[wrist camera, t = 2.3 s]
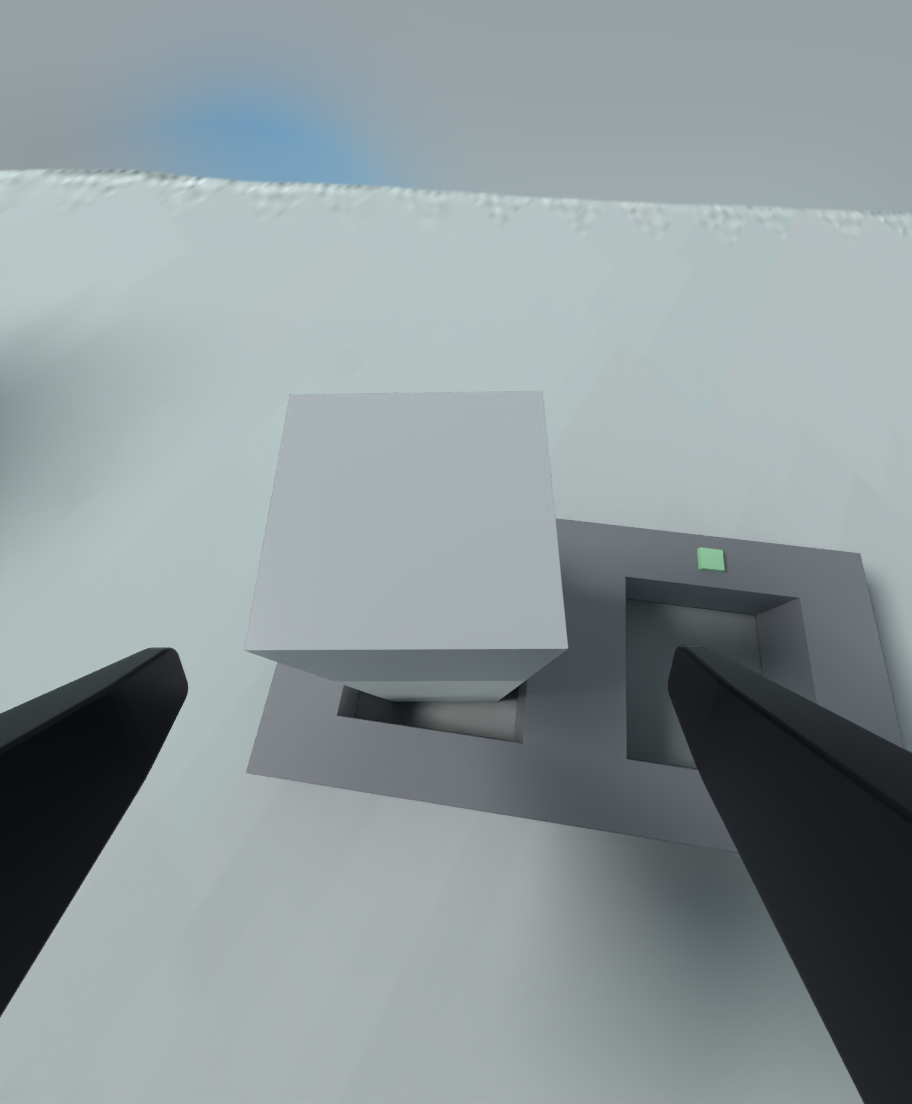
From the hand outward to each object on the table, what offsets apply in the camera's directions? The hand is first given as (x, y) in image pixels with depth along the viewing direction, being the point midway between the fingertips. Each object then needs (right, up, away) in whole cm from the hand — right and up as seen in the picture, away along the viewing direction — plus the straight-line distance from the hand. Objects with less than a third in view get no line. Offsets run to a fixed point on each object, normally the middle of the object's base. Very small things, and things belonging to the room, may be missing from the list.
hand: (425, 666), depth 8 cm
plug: (0, -2, +9) cm, 10 cm away
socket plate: (+5, -2, +9) cm, 10 cm away
